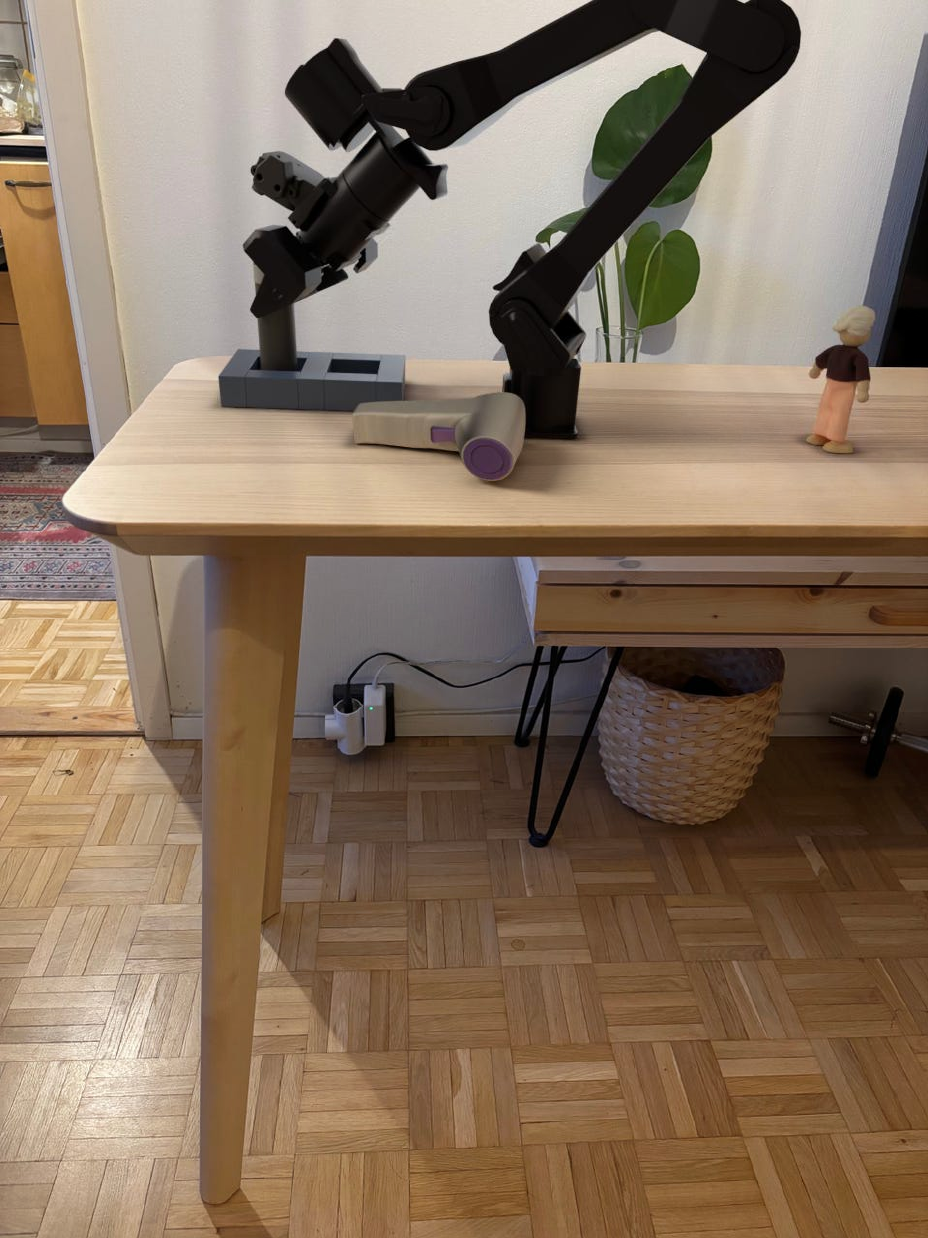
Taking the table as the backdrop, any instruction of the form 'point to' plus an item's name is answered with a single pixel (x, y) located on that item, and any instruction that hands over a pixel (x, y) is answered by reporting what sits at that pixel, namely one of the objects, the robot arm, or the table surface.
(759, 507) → the table surface
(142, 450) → the table surface
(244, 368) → the grey flat block
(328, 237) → the robot arm
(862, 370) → the grandmother figurine
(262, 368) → the dark grey banded cylinder
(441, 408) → the infrared thermometer
